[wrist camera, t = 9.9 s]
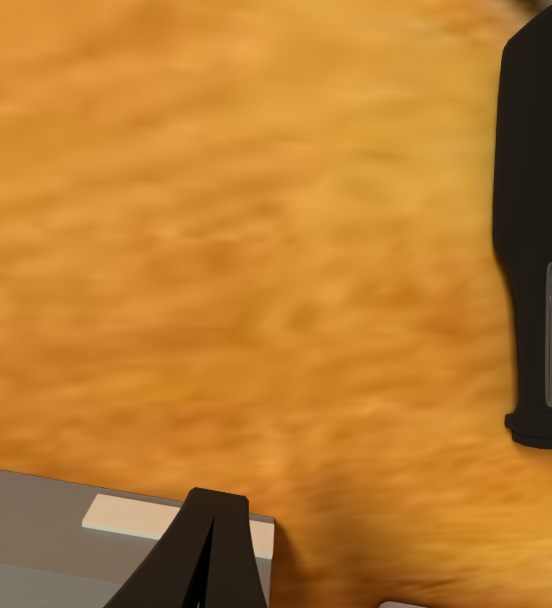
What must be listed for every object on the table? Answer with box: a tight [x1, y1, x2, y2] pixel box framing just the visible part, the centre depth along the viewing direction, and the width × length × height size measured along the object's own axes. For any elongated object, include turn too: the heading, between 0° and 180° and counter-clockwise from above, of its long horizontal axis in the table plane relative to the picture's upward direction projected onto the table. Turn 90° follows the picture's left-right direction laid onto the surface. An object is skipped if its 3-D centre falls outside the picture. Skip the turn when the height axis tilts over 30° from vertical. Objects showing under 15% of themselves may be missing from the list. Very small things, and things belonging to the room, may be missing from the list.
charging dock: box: [0, 470, 274, 608], centre depth 20 cm, size 20×6×5 cm, turn 80°
